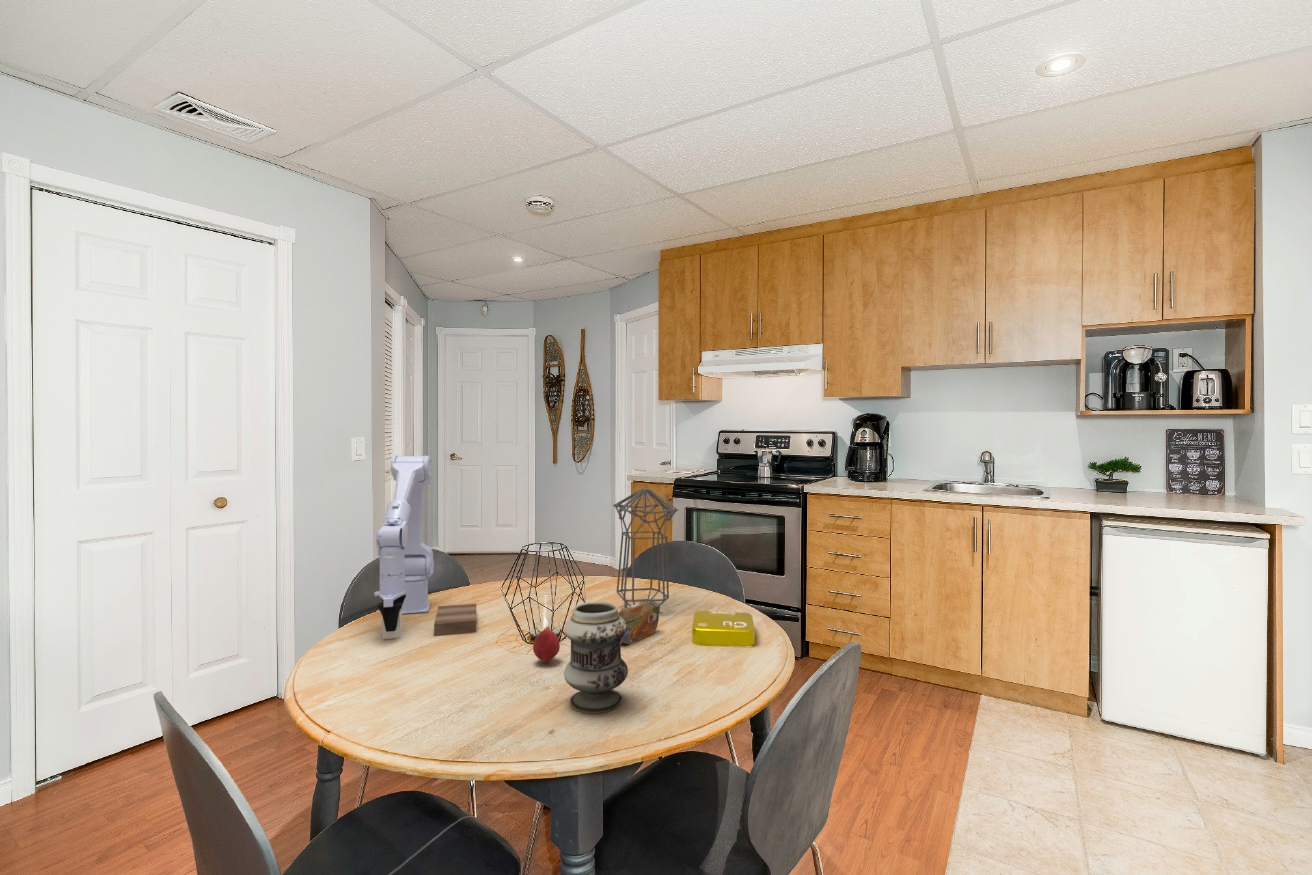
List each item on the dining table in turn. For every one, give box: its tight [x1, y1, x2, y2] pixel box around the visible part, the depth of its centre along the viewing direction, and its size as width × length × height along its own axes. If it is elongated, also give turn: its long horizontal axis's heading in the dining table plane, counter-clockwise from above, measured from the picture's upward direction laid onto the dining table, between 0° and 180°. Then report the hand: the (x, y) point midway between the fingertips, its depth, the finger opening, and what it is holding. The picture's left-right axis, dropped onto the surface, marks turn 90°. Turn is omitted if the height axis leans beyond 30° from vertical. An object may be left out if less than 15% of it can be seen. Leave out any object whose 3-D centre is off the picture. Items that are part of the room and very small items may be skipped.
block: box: [381, 609, 403, 640], centre depth 152 cm, size 4×4×6 cm
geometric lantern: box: [612, 487, 679, 613], centre depth 174 cm, size 16×16×35 cm
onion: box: [532, 625, 561, 664], centre depth 135 cm, size 6×6×8 cm
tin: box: [618, 601, 660, 645], centre depth 151 cm, size 15×3×8 cm, turn 143°
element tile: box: [691, 610, 756, 647], centre depth 153 cm, size 15×15×5 cm
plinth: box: [433, 603, 477, 637], centre depth 161 cm, size 16×10×3 cm, turn 16°
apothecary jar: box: [563, 601, 629, 714], centre depth 116 cm, size 12×12×18 cm
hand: (392, 627), depth 152 cm, fingers closed on block, 4 cm apart
